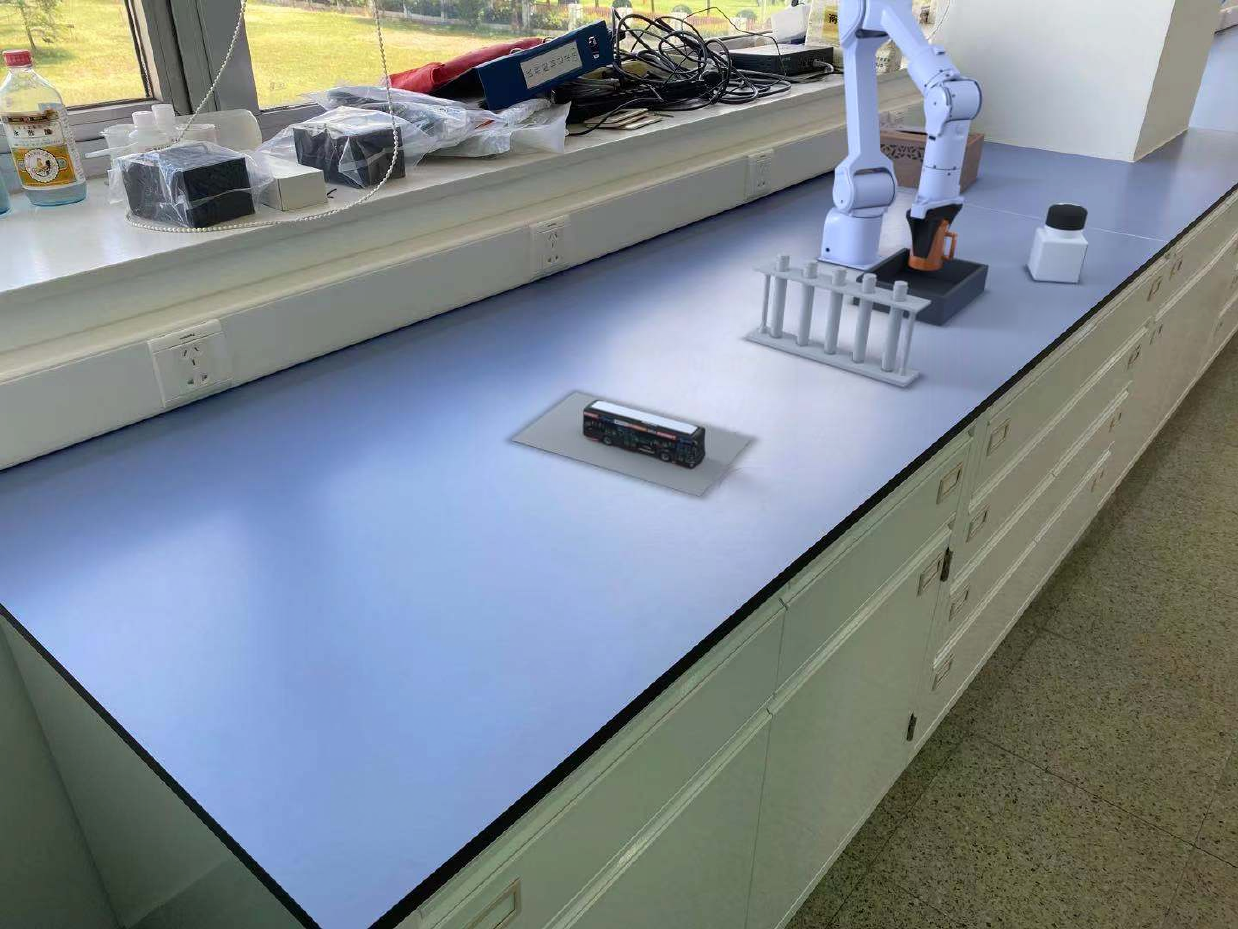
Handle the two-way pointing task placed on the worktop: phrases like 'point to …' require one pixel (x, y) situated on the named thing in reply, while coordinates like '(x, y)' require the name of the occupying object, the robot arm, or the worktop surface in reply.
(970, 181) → the tissue box cover
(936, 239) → the cup
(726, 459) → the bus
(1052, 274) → the medicine bottle
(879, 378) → the test tube rack
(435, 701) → the worktop surface
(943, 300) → the bin
